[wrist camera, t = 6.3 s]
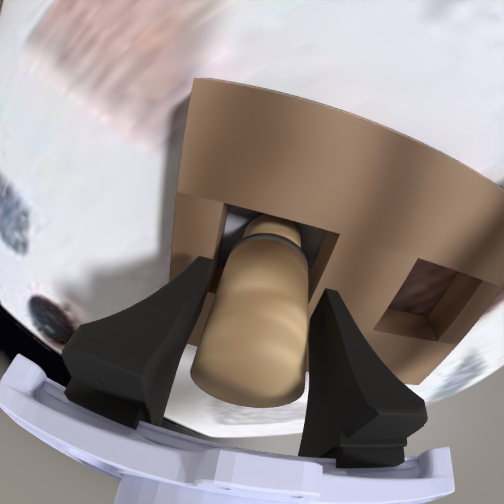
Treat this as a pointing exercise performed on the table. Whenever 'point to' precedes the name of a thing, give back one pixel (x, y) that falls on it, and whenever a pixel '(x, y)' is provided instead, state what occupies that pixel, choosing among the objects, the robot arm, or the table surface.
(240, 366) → the oak peg
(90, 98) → the table surface
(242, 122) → the walnut board
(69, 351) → the robot arm
